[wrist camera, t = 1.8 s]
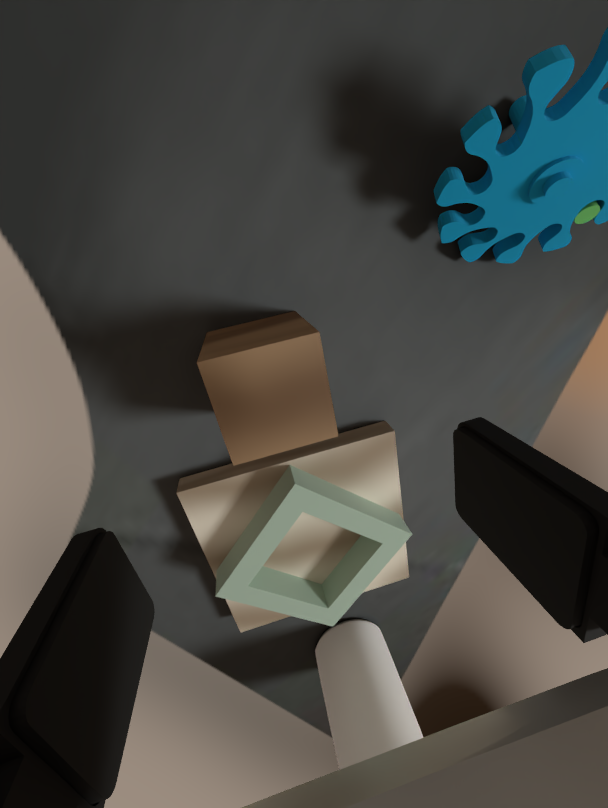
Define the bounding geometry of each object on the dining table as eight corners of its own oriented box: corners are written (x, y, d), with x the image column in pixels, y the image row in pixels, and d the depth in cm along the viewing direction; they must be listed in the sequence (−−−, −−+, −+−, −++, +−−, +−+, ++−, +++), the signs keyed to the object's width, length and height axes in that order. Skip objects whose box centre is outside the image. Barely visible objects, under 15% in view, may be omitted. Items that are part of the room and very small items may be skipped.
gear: (394, 242, 17) (641, -56, 9) (379, 163, 19) (564, -136, 11) (536, 294, 21) (792, 130, 13) (510, 225, 24) (716, 46, 15)
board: (179, 478, 22) (176, 492, 20) (385, 420, 23) (394, 430, 22) (240, 614, 28) (240, 632, 26) (400, 562, 29) (409, 577, 28)
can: (340, 609, 30) (401, 808, 19) (393, 624, 32) (474, 809, 21) (300, 656, 31) (336, 865, 21) (354, 667, 34) (411, 860, 23)
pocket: (216, 570, 23) (215, 596, 22) (289, 464, 21) (295, 483, 19) (326, 601, 27) (333, 626, 25) (399, 513, 25) (412, 534, 23)
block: (207, 332, 19) (196, 362, 13) (294, 310, 19) (319, 332, 14) (232, 411, 21) (233, 465, 15) (311, 390, 21) (338, 436, 16)
